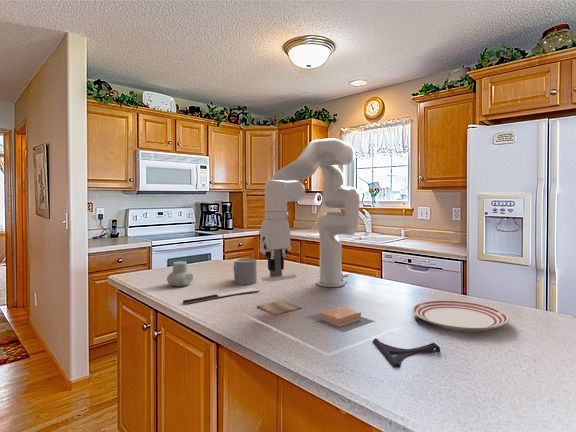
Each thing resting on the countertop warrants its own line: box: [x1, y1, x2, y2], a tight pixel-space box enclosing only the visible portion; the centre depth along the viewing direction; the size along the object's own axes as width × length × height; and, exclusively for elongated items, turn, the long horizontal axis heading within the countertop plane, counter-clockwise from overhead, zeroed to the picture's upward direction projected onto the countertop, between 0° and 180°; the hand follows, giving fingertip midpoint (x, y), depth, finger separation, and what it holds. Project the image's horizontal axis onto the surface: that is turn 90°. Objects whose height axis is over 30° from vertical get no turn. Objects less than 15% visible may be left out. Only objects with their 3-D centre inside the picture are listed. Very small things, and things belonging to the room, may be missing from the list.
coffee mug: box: [233, 257, 258, 286], centre depth 167 cm, size 13×10×10 cm
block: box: [319, 305, 362, 326], centre depth 116 cm, size 10×2×8 cm
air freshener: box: [166, 260, 194, 287], centre depth 161 cm, size 11×8×10 cm
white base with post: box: [261, 250, 297, 283], centre depth 126 cm, size 6×10×11 cm, turn 128°
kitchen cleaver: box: [182, 287, 260, 305], centre depth 145 cm, size 31×2×10 cm
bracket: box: [372, 338, 441, 368], centre depth 93 cm, size 14×15×3 cm
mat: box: [306, 312, 375, 333], centre depth 116 cm, size 14×16×1 cm
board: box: [256, 299, 302, 316], centre depth 127 cm, size 11×11×1 cm
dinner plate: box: [411, 299, 510, 332], centre depth 116 cm, size 28×27×3 cm
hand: (275, 269), depth 127 cm, fingers closed on white base with post, 3 cm apart
